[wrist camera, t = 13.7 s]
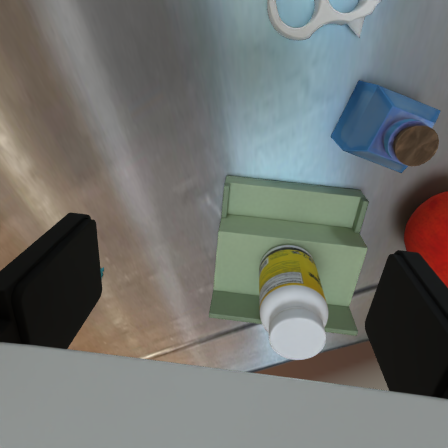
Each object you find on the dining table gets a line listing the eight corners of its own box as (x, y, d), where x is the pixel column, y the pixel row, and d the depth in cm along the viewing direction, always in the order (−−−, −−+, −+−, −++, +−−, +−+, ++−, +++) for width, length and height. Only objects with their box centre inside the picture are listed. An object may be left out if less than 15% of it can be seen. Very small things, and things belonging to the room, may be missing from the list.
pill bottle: (318, 284, 39) (340, 363, 29) (265, 292, 40) (267, 370, 30) (311, 237, 36) (331, 306, 26) (253, 247, 37) (252, 316, 27)
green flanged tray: (226, 175, 41) (217, 212, 31) (360, 189, 41) (393, 232, 31) (218, 262, 47) (208, 317, 37) (335, 276, 46) (356, 335, 37)
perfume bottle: (358, 80, 35) (403, 91, 25) (412, 102, 36) (478, 122, 25) (330, 136, 38) (359, 168, 28) (380, 156, 39) (428, 194, 28)
